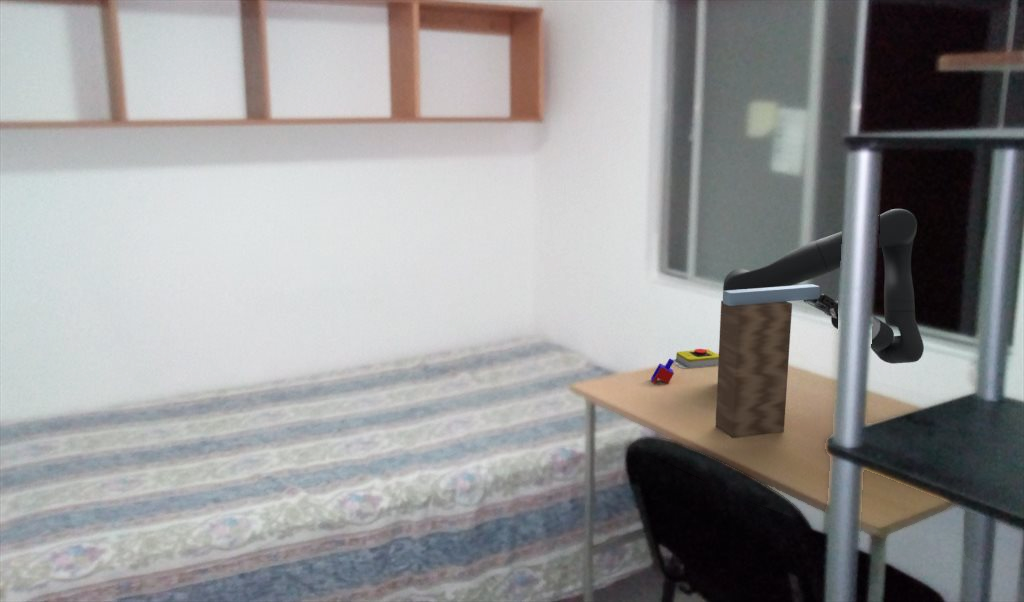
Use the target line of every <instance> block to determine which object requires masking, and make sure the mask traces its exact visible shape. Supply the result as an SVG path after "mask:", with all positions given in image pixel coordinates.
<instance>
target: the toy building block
mask: <svg viewBox="0 0 1024 602" xmlns="http://www.w3.org/2000/svg"><path fill="white" fill-rule="evenodd" d="M673 362H674V359H672V358H670V357H669V359H668V361H666V363H665V365H664V364H662V363H659V364H658V365H657V368H656V369H655V370H654V373H653V374H652V375H651V377H650V378H651V382H652V383H653V384H656V383H657V381H658V380H660V381H662V382H664V383H666V384H669V383H670V381H671V380H672V377H673V376H674V374H675V372H674V370H673V369H672V368H671V367H672V366H673V364H674V363H673Z"/></svg>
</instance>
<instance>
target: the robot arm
mask: <svg viewBox="0 0 1024 602" xmlns="http://www.w3.org/2000/svg"><path fill="white" fill-rule="evenodd" d="M879 215H880V234H879V248H881V250H882V255H883V263H884V290H883V294H884V295H883V301H884V302H883V303H884V304H883V306H884V307H883V308H884V322H883V320H881V319H879V318H878V317H876V316H875V315H874V316H873V326H872V344H871V347H870V349H871V350H872V351H873V352H874V354H875V355H876V356H877V357H878V358H879V359H880V360H881V361H883V362H885V363H888V364H894V365H895V364H905V363H907V364H908V363H916V362H918V361H920V360H921V358H922V357H923V354H924V341H923V338H922V335H921V332H920V329H919V326H918V323H917V321H916V312H915V291H914V283H913V276H912V251H913V246H914V239H915V237H916V235H917V230H918V229H917V227H918V223H917V219H916V216H915V215H914V214H913V213H912V212H910V211H909V210H907V209H903V208H894V209H890V210H887V211H885V212H883V213H881V214H879ZM841 244H842V231H839V232H836V233H834V234H831V235H829V236H824V237H821V238H820V239H816V240H813V241H811V242H809V243H806V244H804V245H801V246H799V247H797V248H795V249H793V250H791V251H789V252H788V253H786V254H784V255H783V256H781V257H779V258H778V259H776V260H775V261H774V262H772V263H769V264H766V265H765V266H761V267H758V268H755V269H752V270H748V269H745V268H736V269H733V270H731V271H729V272H728V274H727V275H726V276H725V278H724V280H723V286H722V290H723V291H722V292H723V293H722V295H723V294H724V291H727V290H741V289H754V288H767V287H781V286H794V285H797V284H798V285H799V284H800V283H803V282H806V281H809V280H812V279H816V278H818V277H820V276H823V275H826V274H829V273H832V272H834V271H836V270H837V269H840V268H841V267H840V261H841ZM879 248H878V249H879ZM802 301H803V302H804V303H806V304H808V305H809V306H812V307H813V308H815V309H816V310H818V311H819V312H822V313H824V315H826V316H828V317H831V318H830V322H831V324H832V326H833V327H834V328H835V329H837V330H838V301H839V300H834V299H833V298H831V297H830V296H828V295H826V294H824V293H820V294H819V299H810V300H802ZM894 327H895V328H897V329H898V332H899V335H895V333H894V330H893V328H894Z"/></svg>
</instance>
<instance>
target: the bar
mask: <svg viewBox="0 0 1024 602" xmlns="http://www.w3.org/2000/svg"><path fill="white" fill-rule="evenodd" d="M820 288H821V286H819V285H816V284H811V283H809V284H798V285H797V284H794V285H791V286H781V287H767V288H754V289H741V290H727V291H724V294H723V293H722V301H723V303H724V304H726V305H729V306H735V305H747V304H760V303H772V302H785V301H786V302H793V301H794V302H797V301H803V300H810V299H819V296H820V294H821V292H820V291H821V289H820Z"/></svg>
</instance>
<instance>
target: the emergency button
mask: <svg viewBox="0 0 1024 602" xmlns="http://www.w3.org/2000/svg"><path fill="white" fill-rule="evenodd" d="M675 355H676V356H675V358H674V359H673V360H674V362H673V364H674V365H675V364H676V363H678V364H676V365H675V366H676V367H678V368H680V369H682V368H683V369H686V368H687V369H693V368H694V369H695V368H696V367H697V368H704V367H705V366H707V367H715V366H716V365H717V366H718V361H719V353H716V352H714V351H712V350H710V349H707V348H705V349H704V348H695V349H693V350H684V351H683V350H682V351H677V352H676V354H675ZM717 366H716V367H717ZM705 368H706V367H705Z"/></svg>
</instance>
